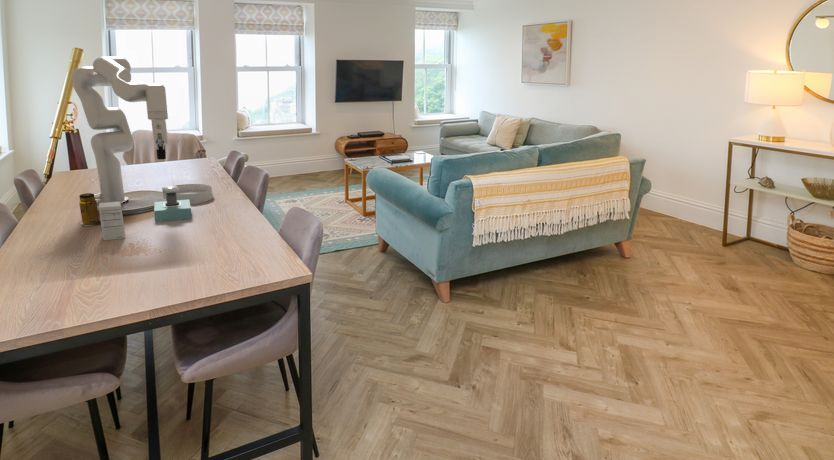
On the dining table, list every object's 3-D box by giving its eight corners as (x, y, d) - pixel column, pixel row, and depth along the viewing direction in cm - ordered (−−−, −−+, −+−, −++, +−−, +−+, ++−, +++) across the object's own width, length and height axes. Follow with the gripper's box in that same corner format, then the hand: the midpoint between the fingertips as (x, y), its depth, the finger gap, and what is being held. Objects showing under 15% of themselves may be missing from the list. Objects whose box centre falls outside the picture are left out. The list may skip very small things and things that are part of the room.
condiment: (78, 223, 237) (74, 194, 234) (100, 219, 243) (96, 191, 240) (86, 227, 233) (81, 197, 229) (108, 222, 239) (104, 193, 235)
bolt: (165, 217, 247) (162, 189, 243) (165, 214, 252) (162, 186, 249) (181, 216, 249) (178, 188, 245) (181, 212, 255) (178, 185, 251)
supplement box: (103, 235, 223) (98, 202, 219) (125, 233, 226) (121, 201, 222) (102, 240, 216) (97, 207, 213) (125, 238, 219) (120, 205, 216)
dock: (155, 221, 241) (154, 210, 240) (155, 211, 255) (154, 201, 254) (191, 218, 246) (190, 207, 245) (190, 209, 260) (189, 198, 259)
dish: (197, 206, 267) (195, 195, 265) (153, 203, 271) (151, 192, 269) (221, 195, 288) (220, 185, 286) (180, 192, 291) (179, 182, 290)
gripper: (167, 117, 234) (171, 160, 239) (167, 112, 249) (171, 153, 254) (147, 118, 231) (151, 161, 236) (148, 113, 246) (152, 153, 251)
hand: (161, 157), depth 245 cm, fingers open, 9 cm apart
